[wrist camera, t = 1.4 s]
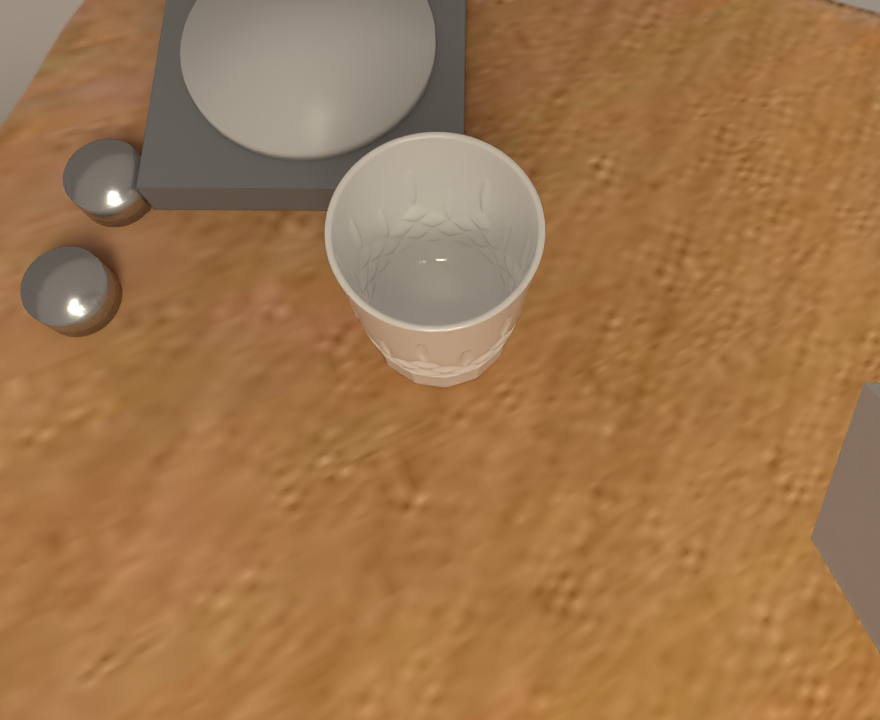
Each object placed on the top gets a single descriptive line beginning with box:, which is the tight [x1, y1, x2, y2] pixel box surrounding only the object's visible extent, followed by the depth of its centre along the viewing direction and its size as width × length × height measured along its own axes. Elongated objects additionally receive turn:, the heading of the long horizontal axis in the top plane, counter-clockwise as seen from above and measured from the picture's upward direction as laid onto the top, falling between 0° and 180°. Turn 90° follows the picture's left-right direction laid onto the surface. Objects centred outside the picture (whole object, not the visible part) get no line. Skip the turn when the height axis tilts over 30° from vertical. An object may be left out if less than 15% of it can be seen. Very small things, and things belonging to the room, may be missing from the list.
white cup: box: [325, 132, 545, 388], centre depth 30 cm, size 8×8×10 cm
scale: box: [136, 0, 466, 211], centre depth 38 cm, size 16×17×3 cm
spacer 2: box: [21, 246, 122, 337], centre depth 35 cm, size 4×4×2 cm
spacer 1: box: [63, 139, 152, 227], centre depth 37 cm, size 4×4×2 cm
